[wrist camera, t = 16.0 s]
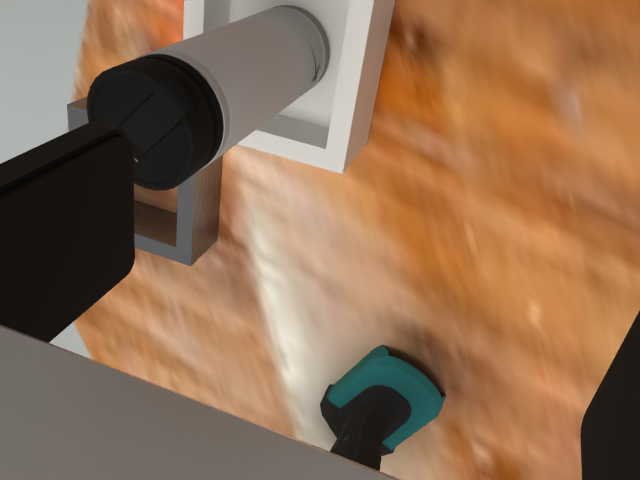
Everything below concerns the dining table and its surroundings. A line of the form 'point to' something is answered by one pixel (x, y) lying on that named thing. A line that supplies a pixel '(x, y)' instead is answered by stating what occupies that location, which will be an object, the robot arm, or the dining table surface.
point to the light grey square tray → (331, 91)
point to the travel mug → (209, 91)
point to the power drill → (378, 407)
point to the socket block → (169, 228)
